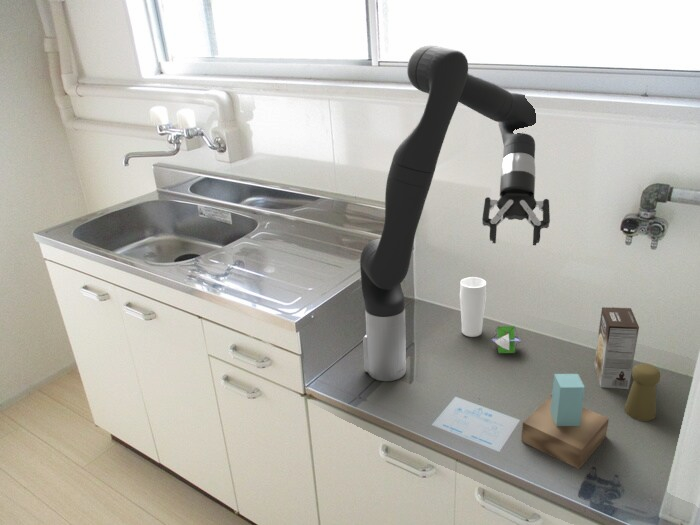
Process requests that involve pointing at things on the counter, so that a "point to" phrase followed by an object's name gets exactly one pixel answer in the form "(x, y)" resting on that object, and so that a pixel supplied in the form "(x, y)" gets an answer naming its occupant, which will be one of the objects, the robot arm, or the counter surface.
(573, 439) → the walnut block
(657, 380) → the cork
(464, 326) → the drinking glass
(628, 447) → the counter surface
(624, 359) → the coffee box
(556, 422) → the teal block
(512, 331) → the geometric puzzle
